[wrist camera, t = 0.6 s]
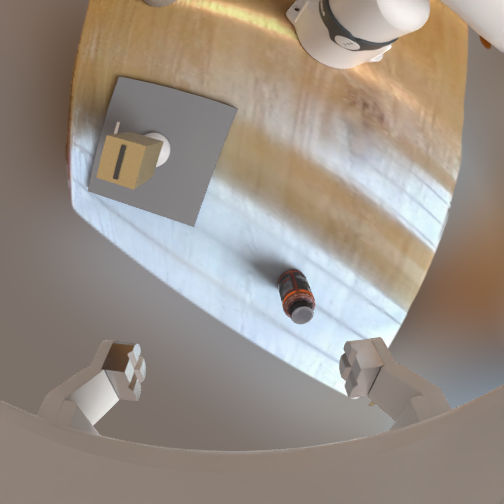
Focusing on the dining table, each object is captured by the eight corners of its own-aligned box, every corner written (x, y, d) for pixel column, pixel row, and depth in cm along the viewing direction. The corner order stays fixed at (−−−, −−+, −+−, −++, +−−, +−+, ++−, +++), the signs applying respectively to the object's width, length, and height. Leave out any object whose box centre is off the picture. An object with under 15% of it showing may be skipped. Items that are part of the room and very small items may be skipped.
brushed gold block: (130, 131, 36) (106, 135, 29) (163, 141, 37) (145, 146, 30) (120, 166, 38) (95, 177, 31) (152, 176, 39) (133, 190, 32)
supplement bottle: (273, 290, 58) (280, 325, 48) (282, 266, 56) (292, 298, 46) (300, 296, 59) (311, 330, 49) (310, 272, 57) (324, 305, 47)
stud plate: (122, 77, 39) (98, 70, 30) (237, 109, 43) (237, 105, 34) (91, 189, 47) (66, 203, 39) (195, 223, 51) (186, 245, 43)
